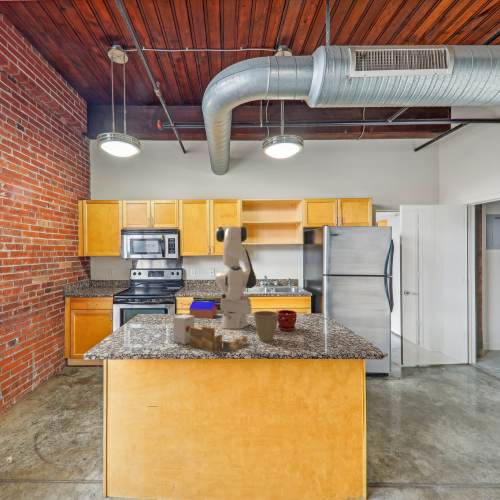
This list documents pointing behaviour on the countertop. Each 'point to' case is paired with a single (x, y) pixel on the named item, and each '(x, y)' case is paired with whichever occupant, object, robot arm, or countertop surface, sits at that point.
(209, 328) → the wood grain block
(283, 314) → the plant pot
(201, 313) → the house
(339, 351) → the countertop surface
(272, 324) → the plant pot
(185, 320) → the supplement box
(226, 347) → the rail
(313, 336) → the countertop surface
